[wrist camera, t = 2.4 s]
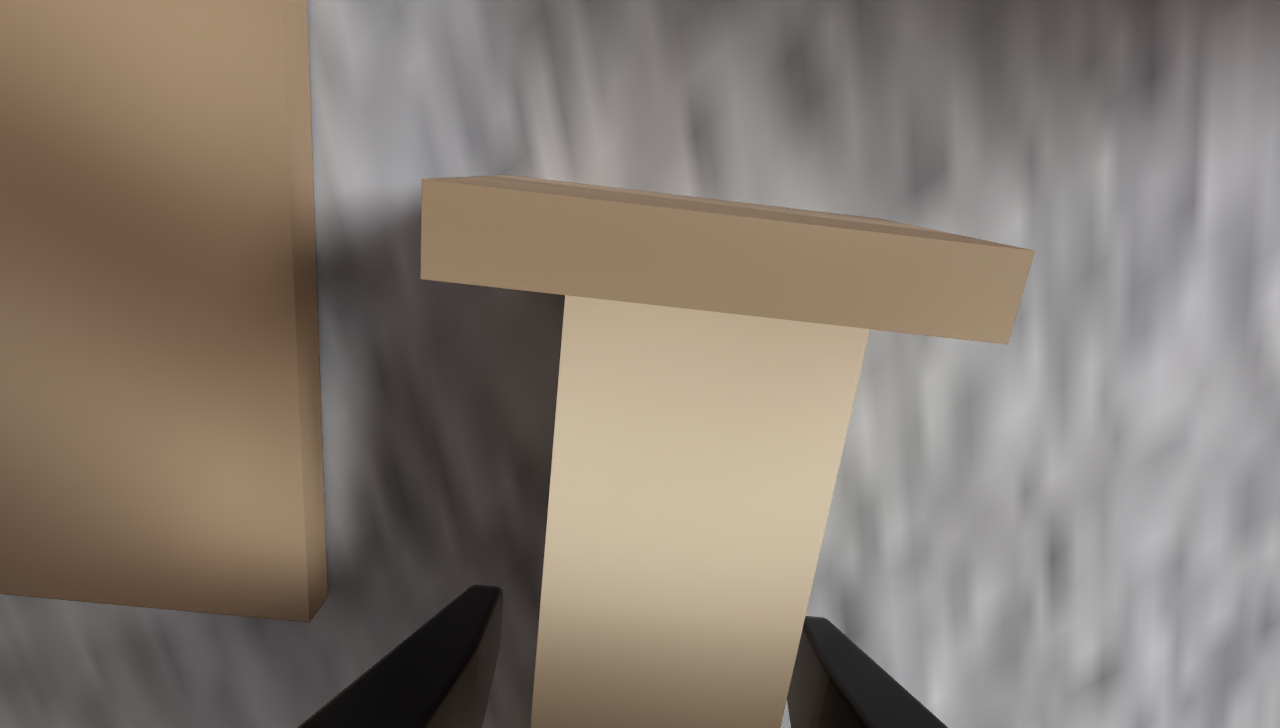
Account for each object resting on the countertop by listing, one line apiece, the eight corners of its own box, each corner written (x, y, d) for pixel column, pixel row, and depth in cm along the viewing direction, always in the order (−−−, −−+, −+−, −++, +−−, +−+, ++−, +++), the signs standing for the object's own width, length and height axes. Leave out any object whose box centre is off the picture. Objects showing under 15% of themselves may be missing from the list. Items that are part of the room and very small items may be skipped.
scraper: (749, 814, 12) (793, 1073, 8) (476, 792, 12) (410, 1047, 8) (879, 218, 9) (1034, 250, 5) (507, 175, 8) (421, 179, 5)
